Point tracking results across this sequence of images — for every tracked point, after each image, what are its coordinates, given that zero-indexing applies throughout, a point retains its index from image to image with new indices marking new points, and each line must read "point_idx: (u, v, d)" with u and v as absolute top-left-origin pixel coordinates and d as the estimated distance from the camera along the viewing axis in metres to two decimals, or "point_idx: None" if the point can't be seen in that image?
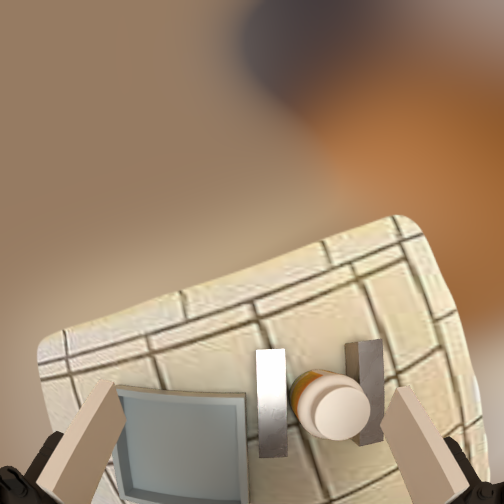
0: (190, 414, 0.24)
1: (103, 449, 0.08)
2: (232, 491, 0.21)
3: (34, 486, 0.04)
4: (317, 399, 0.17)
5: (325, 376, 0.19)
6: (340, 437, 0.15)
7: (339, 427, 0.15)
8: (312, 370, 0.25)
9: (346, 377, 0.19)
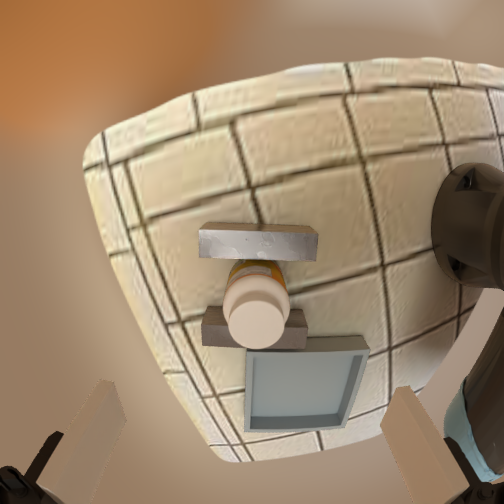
0: (265, 377, 0.31)
1: (103, 449, 0.08)
2: None
3: (34, 486, 0.04)
4: None
5: (223, 313, 0.22)
6: (280, 329, 0.19)
7: (269, 329, 0.19)
8: None
9: (226, 297, 0.22)
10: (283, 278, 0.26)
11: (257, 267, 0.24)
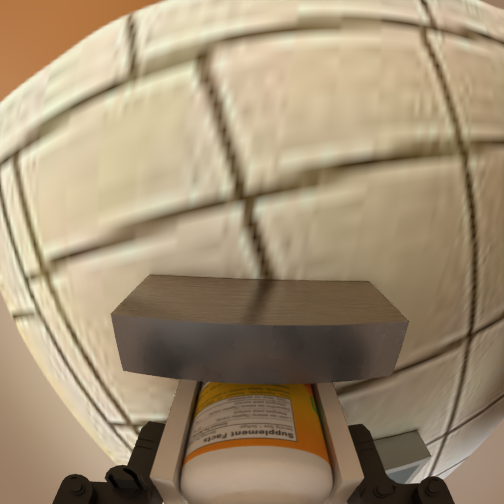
0: None
1: None
2: None
3: None
4: None
5: None
6: None
7: None
8: None
9: (184, 483, 0.06)
10: None
11: (258, 406, 0.09)
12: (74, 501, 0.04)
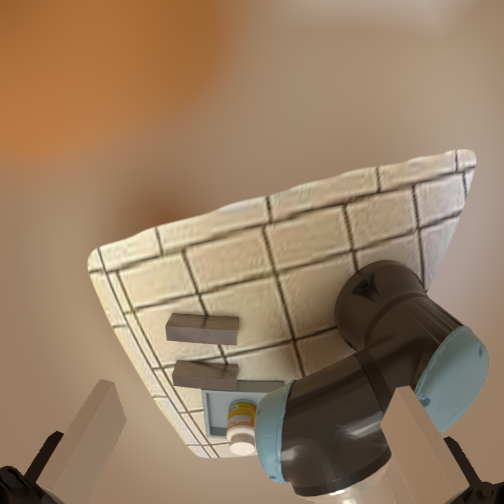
0: (218, 403, 0.45)
1: (103, 449, 0.08)
2: None
3: (34, 486, 0.04)
4: None
5: None
6: (252, 450, 0.36)
7: (248, 450, 0.36)
8: None
9: (228, 433, 0.38)
10: None
11: (243, 417, 0.40)
12: None
